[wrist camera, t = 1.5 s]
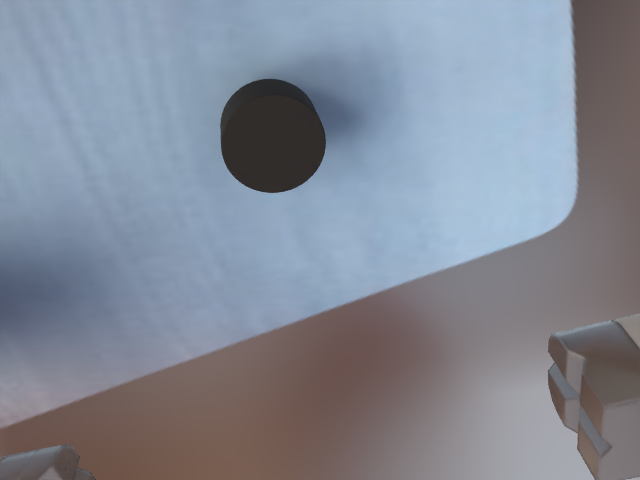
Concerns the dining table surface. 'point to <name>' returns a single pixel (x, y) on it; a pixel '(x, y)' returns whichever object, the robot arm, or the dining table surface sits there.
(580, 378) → the robot arm
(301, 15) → the dining table surface
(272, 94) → the cylinder
